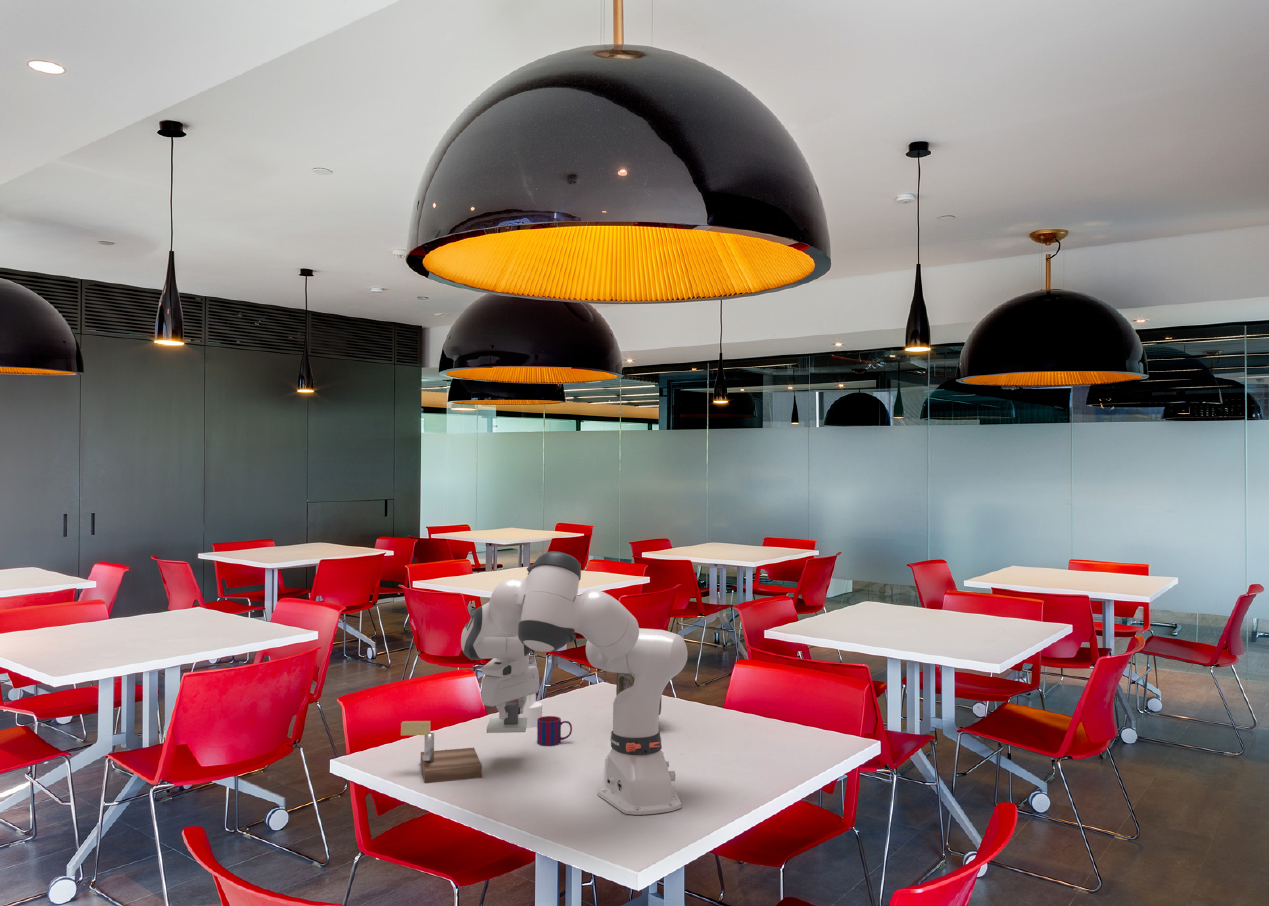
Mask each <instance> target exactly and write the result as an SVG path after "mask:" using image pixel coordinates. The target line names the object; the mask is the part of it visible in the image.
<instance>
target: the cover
mask: <svg viewBox="0 0 1269 906" xmlns="http://www.w3.org/2000/svg"><path fill="white" fill-rule="evenodd" d="M504 708H505V711H506V712H508V718H507V719H505V720H501V719H499V717H490V718H489V720H488V723H487V726H486V734H492V733H493V734H495V733H496V734H500V733H502V734H503V733H504V734H505V733H507V734H508V733H513V734H514V733H526V731H527V728H526V726H527V718H518V709H519V702H518V701H509V702H506V706H505V707H504Z"/></svg>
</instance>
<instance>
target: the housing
mask: <svg viewBox="0 0 1269 906" xmlns="http://www.w3.org/2000/svg"><path fill="white" fill-rule="evenodd" d="M423 756H424V751H420V768H421V772H422V777H423V781H424V784H426V783H427V784H429V783H430V784H431V783H439V782H448V781H450V782H451V781H458V780H459V781H460V780H461V781H462V780H469V779H479V778H482V775H483V772H482V771H483V765H482V762H481V760H480V758H479V756H478V753H477V752H476V749H475V747H465V748H453V749H441V750H434V761H432V762H425V761H423Z"/></svg>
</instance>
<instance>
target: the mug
mask: <svg viewBox="0 0 1269 906" xmlns="http://www.w3.org/2000/svg"><path fill="white" fill-rule="evenodd" d="M561 719H562V718H561V717H559V716H554V715H546V716H545V715H544V716H542V717H540V718H538V719H537V727H536V729H537V731H536V733H537V734H536V735H537V736H536V737H537V738H536V743H537V745H538V746H543V747H555V746H558V745H560V744H561V741H562V740H566V739H568V738H569V737H570V736H571V735H572V731H573V726H572V723H571V722H570V721H569V720H563V721H562V720H561ZM563 724H568V726H569V733H568V734H567V735H566V736H561V735H562V732H561V731H562V729H561V728H562V725H563Z"/></svg>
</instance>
